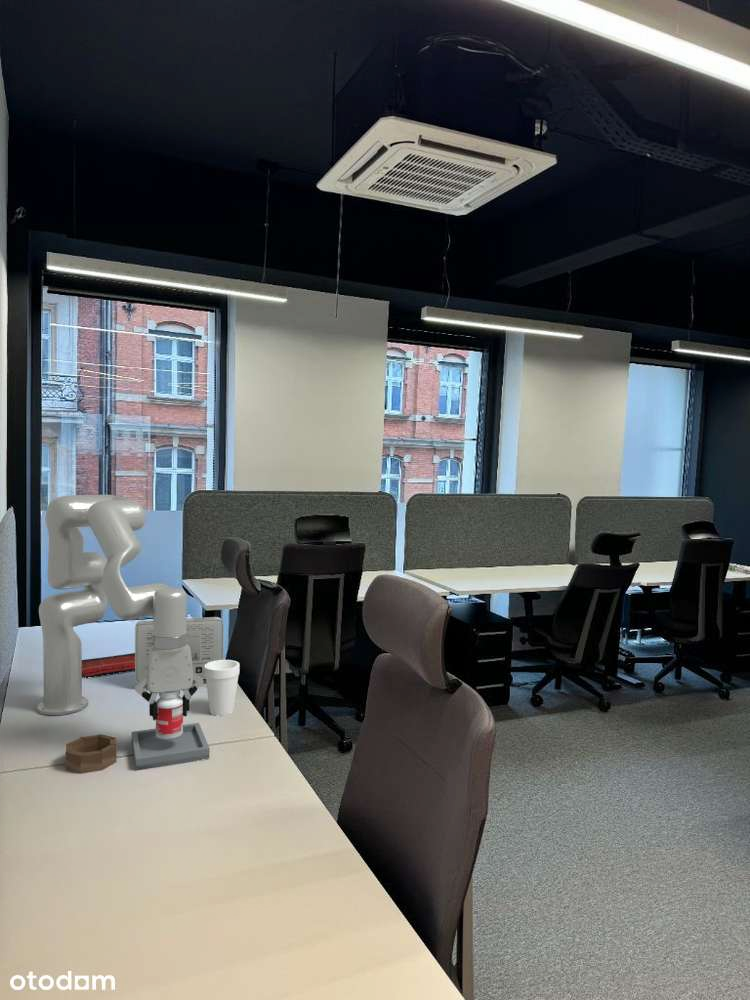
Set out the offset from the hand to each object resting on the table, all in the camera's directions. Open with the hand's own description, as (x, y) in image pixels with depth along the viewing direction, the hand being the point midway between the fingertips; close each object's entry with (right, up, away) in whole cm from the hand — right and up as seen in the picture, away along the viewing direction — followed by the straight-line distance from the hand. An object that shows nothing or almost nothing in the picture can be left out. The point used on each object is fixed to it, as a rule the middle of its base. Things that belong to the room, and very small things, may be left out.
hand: (169, 715), depth 155 cm
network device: (-11, -6, +46) cm, 47 cm away
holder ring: (-16, -8, -6) cm, 19 cm away
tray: (0, -8, 0) cm, 8 cm away
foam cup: (+6, -7, +25) cm, 27 cm away
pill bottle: (0, -5, 0) cm, 5 cm away
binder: (-38, -5, +61) cm, 72 cm away
